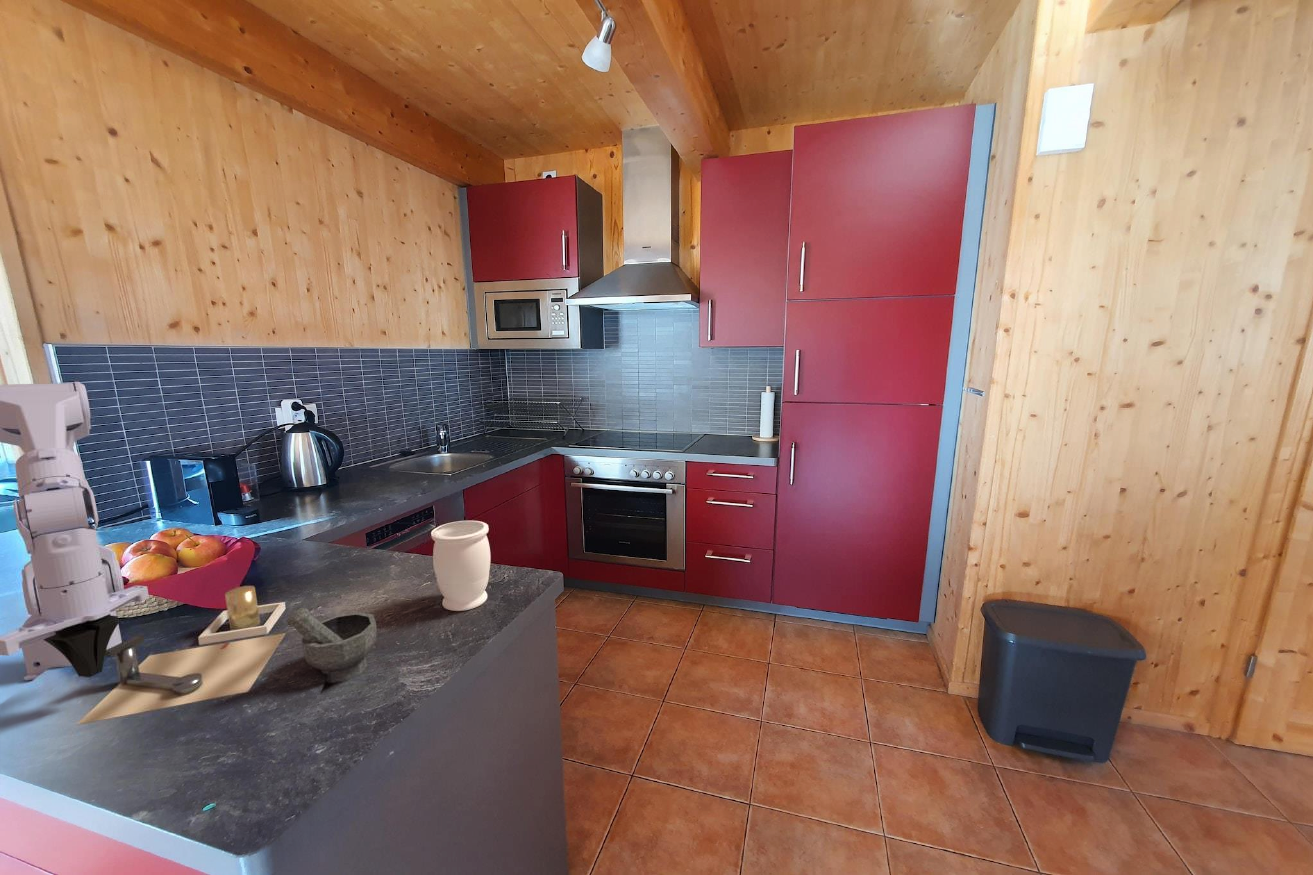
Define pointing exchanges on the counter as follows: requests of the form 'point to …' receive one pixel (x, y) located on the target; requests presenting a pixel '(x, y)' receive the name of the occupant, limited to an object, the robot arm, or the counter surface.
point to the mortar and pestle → (336, 642)
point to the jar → (462, 563)
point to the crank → (132, 676)
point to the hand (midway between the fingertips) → (90, 673)
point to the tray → (213, 637)
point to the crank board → (218, 665)
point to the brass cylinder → (242, 607)
